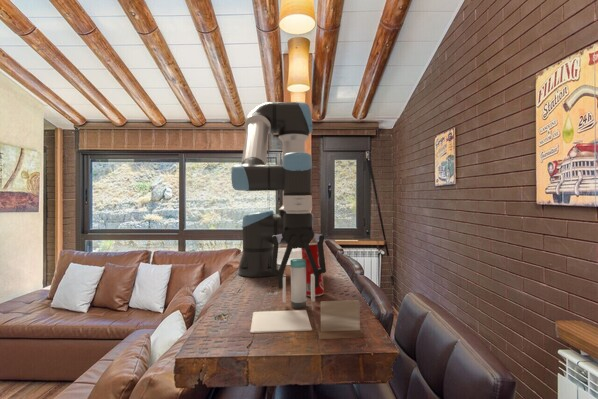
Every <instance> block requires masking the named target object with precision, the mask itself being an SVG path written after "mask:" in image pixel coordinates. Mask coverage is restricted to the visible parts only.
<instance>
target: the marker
mask: <svg viewBox="0 0 598 399" xmlns="http://www.w3.org/2000/svg"><path fill="white" fill-rule="evenodd" d="M289 260H290V262H289V263H290V307H291V308H292V309H295V310H303V309H305V308H307V296H306V260H305V259H302V258H293V259H289Z"/></svg>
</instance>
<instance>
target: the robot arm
mask: <svg viewBox="0 0 598 399" xmlns="http://www.w3.org/2000/svg"><path fill="white" fill-rule="evenodd" d="M313 128H314V127H313V119H312V111H311V107H310V105H309V103H307V102H301V101H300V102H299V101H267V102H263V103H261V104H259V105H257V106H256V107H254V108H253V109H252V110H251V111H250V112H249V113H248V115H247V116H246V117H245V121H244V131H245V138H244V144H243V150H242V155H241V163H239V164H234V165H233V166H232V168H231V175H230V176H231V178H230V180H231V187H232V188H233V190H235V191H240V192H241V191H243V192H257V191H258V192H264V191H267V192H268V191H274V192H275V191H277V192H278V191H280V192H281V191H282V205H281V206H280V208H278V213H275V212H274V210H273V209H271V210H264V211H262V210H261V211H256V212H255V211H254V212H250V213H246V214H244V215H243V217H242V225H241V228H242V255H241V257H240V261H239V264H238V268H237V270H238V271H237V272H238V273H237V274H238V275H240V276H242V277H248V278H261V277H271V276H277V287H278V289H279V290H282V304H284V303H287V285H286V284H287V281H286V280H287V279H286V274H284V273H285V270H286V267H287V265H288V262H289V260H290V256H291V253H292V251H293V249H294V250H295V249H302V248H305V251H306V253H307V256H308V259H309V261H310V264H311V267H312V269H313V272H314V274H311V296H310V300H311V302H316V296H315V288H318V287H319V275H320V274H322V273H323V274H325V273H326V272H327V267H326V260H325V259H326V258H325V252H324V251H325V250H324V241H325V236H324V234H322V233H319V234H318V233H316V232H315V231H314V230H313V229H314V214H313V213H312V212H311V211H313V190H312V189H313V188H312V187H313V161H312V155H311V154H310V153H309V152H306V148H305V147H306V142H307V141H308V139H309V138H310V136H309V135H310V134H313V130H314V129H313ZM269 134H278V135H277V136H278V139H279V140H280V141H281V142H282V164H267V155H268V141H269V140H268V138H269ZM313 239H314V241H315V243H317V247H318V256H319V264H320V268H318V269H317V266H316V263H315V260H314V258H313V255H312V252H311V250H310V247H309V243H312V241H313ZM279 245H282V246H283V245H286V248H285V252H284V254H283V257H282V260H281V263H280V266H279V264H278V256H279V254H278V253H279Z"/></svg>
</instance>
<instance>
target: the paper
mask: <svg viewBox="0 0 598 399" xmlns="http://www.w3.org/2000/svg"><path fill="white" fill-rule="evenodd" d="M251 319H252V320H251V326H250V334H262V333H263V334H264V333H284V332H307V331H313V327H312V325H311V322H310V318H309V315H308V312H307V310H306V309H295V310H270V311H268V310H267V311H266V310H265V311H264V310H263V311H253V313H252V318H251Z"/></svg>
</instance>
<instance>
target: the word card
mask: <svg viewBox="0 0 598 399" xmlns="http://www.w3.org/2000/svg"><path fill="white" fill-rule="evenodd" d="M360 302H361V301H360V300H359V299H356V300H355V299H353V300H326V301H324V300H323V301H320V327H318V328H317V336H318V339H319V340H333V339H335V340H336V339H337V340H338V339H356V338H357V339H358V338H365V332H364V331H363V329H362V327H361V325H360V324H361V322H360V321H361V320H360V319H361V318H360V317H361V316H360V314H361V313H360V307H361V306H360Z"/></svg>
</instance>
